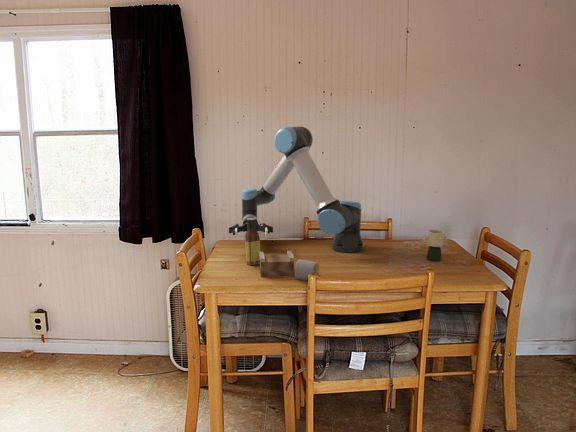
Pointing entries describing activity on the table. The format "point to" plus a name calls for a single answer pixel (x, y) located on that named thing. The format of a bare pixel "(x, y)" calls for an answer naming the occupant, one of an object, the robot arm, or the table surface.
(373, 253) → the table surface
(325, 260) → the table surface
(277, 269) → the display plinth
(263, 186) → the robot arm
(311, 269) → the ceramic mug
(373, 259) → the table surface
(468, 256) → the table surface
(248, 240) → the sauce bottle
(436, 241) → the character mug
